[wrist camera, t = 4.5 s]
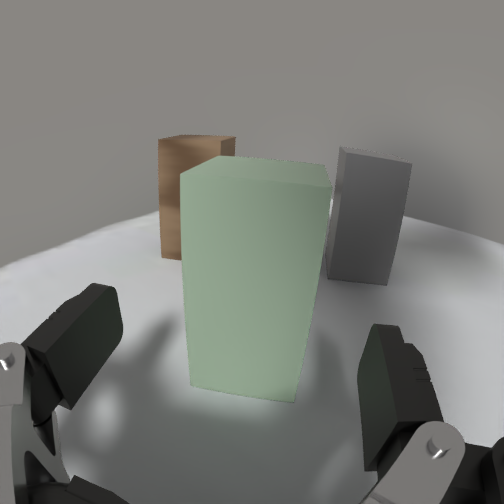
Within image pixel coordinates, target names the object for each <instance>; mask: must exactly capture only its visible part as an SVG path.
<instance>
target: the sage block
mask: <svg viewBox="0 0 504 504" xmlns="http://www.w3.org/2000/svg"><path fill="white" fill-rule="evenodd" d="M331 193H332V185H331V182H330V180H329V177H328V174H327V171H326V168H325V166H324V165H320V164H312V163H303V162H294V161H284V160H272V159H261V158H249V157H234V156H217V157H214V158H212V159H210V160H208V161H206V162H204V163H202V164H200V165H197V166H195V167H193V168H191V169H189V170H187V171H185V172H183V173H181V174H180V219H181V254H182V277H183V296H184V312H185V326H186V339H187V352H188V363H189V373H190V383H191V386H194V387H198V388H203V389H208V390H213V391H218V392H224V393H229V394H235V395H241V396H247V397H253V398H260V399H267V400H274V401H282V402H290V403H294V400H295V396H296V391H297V387H298V382H299V378H300V373H301V369H302V364H303V360H304V355H305V350H306V345H307V340H308V335H309V330H310V325H311V320H312V315H313V309H314V304H315V298H316V293H317V287H318V281H319V275H320V269H321V263H322V257H323V250H324V244H325V237H326V230H327V223H328V216H329V209H330V201H331Z"/></svg>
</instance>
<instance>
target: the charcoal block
mask: <svg viewBox="0 0 504 504" xmlns="http://www.w3.org/2000/svg"><path fill="white" fill-rule="evenodd" d="M411 167H412V164H411V163H410V162H408V161H405V160H403V159H401V158H399V157H397V156H395V155H390V154H384V153H378V152H373V151H367V150H360V149H354V148H347V147H340V148H339V159H338V167H337V175H336V183H335V184H336V185H335V191H334V199H333V206H332V214H331V221H330V227H329V234H328V241H327V247H326V253H325V254H326V264H327V274H328V279H333V280H342V281H351V282H360V283H368V284H377V285H387V282H388V278H389V275H390V271H391V267H392V263H393V259H394V255H395V250H396V246H397V242H398V237H399V233H400V228H401V223H402V219H403V214H404V209H405V203H406V198H407V192H408V187H409V180H410V174H411Z"/></svg>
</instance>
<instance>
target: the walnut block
mask: <svg viewBox="0 0 504 504" xmlns="http://www.w3.org/2000/svg"><path fill="white" fill-rule="evenodd" d="M235 138H236V137H233V136H232V137H231V136H209V135H179V136H173V137H168V138H163V139H159V140H158V171H159V172H158V175H159V176H158V177H159V215H160V237H161V254H162V258H168V259H175V260H182V254H181V219H180V174H181V173H183V172H185V171H187V170H189V169H191V168H193V167H195V166H197V165H200V164H202V163H204V162H206V161H208V160H210V159H212V158H214V157H217V156H234V157H235Z"/></svg>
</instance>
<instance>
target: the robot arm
mask: <svg viewBox="0 0 504 504" xmlns="http://www.w3.org/2000/svg"><path fill="white" fill-rule="evenodd" d="M122 335H123V323H122V318H121V313H120V307H119V302H118V296H117V292H116V289H115V288H114V287H112V286H107V285H102V284H97V283H92V284H90V285H89V286H88V287H87V288H86V289H85V290H84V291H82V292H81V293H80V294H79V295H77V296H75V297H73V298H71V299H69V300H67V301H65V302H64V303H63V304H62V305H61V306H60V307H59V308H58V309H57V310H56V312H53V313H52V314H51V315H50V316H49V319H46V320H45V321H44V322H43V323H42V324H41V325H40V326H39V327H38V328H37V329H36V330H35V331H34V332H33V333H32V334H31V335H30V336H29V337H28V338H27V339H26V340H25V341H24V342H23V343H22V344H18V343H14V342H9V343H4V344H1V345H0V504H129V503H128V502H126V501H125V500H123V499H122V498H120V497H119V496H117V495H116V494H115V493H113V492H111V491H109V490H106V489H104V488H102V487H99V486H97V485H95V484H93V483H90V482H88V481H86V480H84V479H82V478H80V477H78V476H76V475H74V476H73V478H72V480H71V481H70V478H69V476H68V474H67V472H66V470H65V468H64V465H63V461H62V455H61V448H60V441H59V433H58V423H57V415H56V412H55V410H54V409H55V408H56V407H57V405H60V406H63V407H65V408H67V409H69V410H72V408H73V407H74V405H75V404H76V403H77V401H78V400H79V398H80V397H81V395H82V394H83V393H84V391H85V390H86V388H87V387H88V385H89V384H90V383H91V381H92V380H93V378H94V377H95V376H96V374H97V373H98V372H99V370H100V369H101V367H102V366H103V365H104V363H105V362H106V360H107V359H108V358H109V356H110V355H111V354H112V352H113V351H114V350H115V348H116V347H117V346H118V344H119V343H120V341H121V338H122ZM430 380H431V378H430V375H429V373H428V371H427V367H426V364H425V361H424V358H423V355H422V354H421V353H420V352H419V351H418V350H417V349H416V347H415V346H414V345H413V344H410V343H404V340H403V337H402V334H401V331H400V328H399V327H398V326H393V325H380V324H373V326H372V327H371V330H370V333H369V336H368V339H367V342H366V345H365V348H364V351H363V354H362V357H361V360H360V363H359V368H358V375H357V383H358V392H359V402H360V413H361V424H362V437H363V452H364V470H365V471H377V473H378V481H377V482H376V484H375V485H374V486H373V487H372V489H371V490H370V491H369V492H368V493H367V495H366V496H365V497H364V498H363V499H362V501H361V502H360V503H359V504H504V437H502V438H501V439H499V440H498V441H497V442H496V443H495V445H494V446H493V447H492V448H489V447H484V446H478V445H473V444H468V443H465V442H464V439H463V437H462V435H461V434H460V432H459V431H458V430H457V429H456V428H454V427H453V426H451V425H450V424H447V423H445V422H444V420H443V417H442V413H441V410H440V407H439V403H438V400H437V397H436V394H435V391H434V388H433V384H432V382H430Z"/></svg>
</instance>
